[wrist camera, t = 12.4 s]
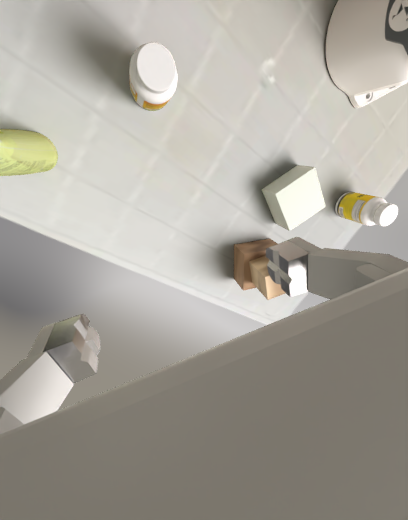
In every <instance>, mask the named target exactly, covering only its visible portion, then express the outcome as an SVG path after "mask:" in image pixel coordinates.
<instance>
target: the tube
mask: <svg viewBox="0 0 408 520" xmlns="http://www.w3.org/2000/svg"><path fill="white" fill-rule="evenodd" d="M57 159H58V154H57V151H56V148H55V146H54V145H53V143H52V142H51V141H50V140H49V139H48V138H47V137H45V136H44V135H42V134H40V133H37V132H32V131H25V130H13V129H0V176H11V175H24V174H32V173H39V172H45V171H48V170H50V169H52V168H53V167H54V166H55V165H56V163H57Z"/></svg>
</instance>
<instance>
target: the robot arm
mask: <svg viewBox="0 0 408 520" xmlns="http://www.w3.org/2000/svg"><path fill="white" fill-rule="evenodd" d="M326 61H327V66H328V70H329V73H330V76H331V78H332V80H333V81H334V83H335V84H336V86H337V87H338V88H339V89H341V90H342V91H343V92H345V93H346V94H347V95H348V96H349V99H350V101H351V103H352V105H353V106H354V107H355V108H360V107H363V106H365V105H367V104H369V103H371V102H372V101H374V100H376V99H378V98H380V97H382V96H384V95H385V94H387V93H389V92H391V91H393V90H395V89H396V88H398V87H400V86H402V85H404V84H406V83H408V0H338V2H337V4H336V6H335V8H334V11H333V13H332V16H331V19H330V23H329V27H328V31H327V38H326ZM266 257H267V258H268V259H269V262H268V264H267V269H268V273H269V275H270V278H271V279H272V280H273V281H274V282H275V283H276V284H280V285H281V289H282V290H283V291H284V292H285V293H286V294H287V295H288V296H290V297H292V296H295V295H297V294H300V293H303V292H306V291H308V292H311V293H314V294H317V295H319V296H322V297H325V298H328V299H330V300H328V301H325V302H323V303H321V304H318V305H316V306H313V307H311V308H308V309H306V310H304V311H301V312H298V313H296V314H294V315H291V316H289V317H286V318H284V319H281V320H279V321H276V322H274V323H271V324H269V325H267V326H264V327H262V328H259V329H257V330H255V331H252V332H249V333H247V334H245V335H242V336H240V337H237V338H235V339H232V340H230V341H228V342H225V343H223V344H220V345H218V346H215V347H213V348H211V349H208V350H206V351H203V352H200V353H198V354H196V355H193V356H191V357H188V358H186V359H183V360H181V361H178V362H176V363H173V364H171V365H169V366H166V367H164V368H161V369H159V370H156V371H154V372H151V373H149V374H146V375H144V376H142V377H139V378H137V379H134V380H132V381H129V382H127V383H125V384H122V385H120V386H117V387H115V388H112V389H110V390H107V391H105V392H102V393H100V394H98V395H95V396H93V397H90V398H88V399H85V400H83V401H81V402H78V403H75V404H73V405H70V406H68V407H66V408H63V409H61V410H58V408H59V407H60V405H61V404H62V402H63V400H64V399H65V397H66V396H67V394H68V393H69V391H70V390H71V388H72V386H73V385H74V384H73V383H76V382H78V381H80V380H83V379H85V378H87V377H90V376H92V375H94V374H96V373H97V366H98V360H99V359H98V358H97V356H96V355H97V354H98V352H99V351H100V345H101V344H100V338H99V335H98V333H97V331H96V330H95V329H94V328H92V327H90V326H89V322H90V320H89V319H88V318H87V316H86V315H85V314H80V315H77V316H74V317H71V318H68V319H65V320H62V321H59V322H55V323H53V324H50V325H47V326H45V327H43V328H41V330H40V332H39V334H38V336H37V338H36V340H35V342H34V344H33V346H32V348H31V350H30V352H29V354H28V356H27V358H26V359H24V360H22V361H20V362H19V363H18V364H17V365H16V366H15V367H14V368H13V369H12V370H11V371H9V372H8V373H7V374H6V375H5V376H4V377H3V378H2V379H1V380H0V520H408V262H406V261H403V260H401V259H399V258H396V257H394V256H392V255H389V254H380V253H370V252H360V251H349V250H339V249H329V248H324V249H320V248H319V247H317V246H315V245H313V244H311V243H309V242H307V241H305V240H303V239H301V238H300V237H294V238H292V239H289V240H287V241H284V242H282V243H279V244H277V245H274V246H271V247H269V248H266ZM57 410H58V411H57Z"/></svg>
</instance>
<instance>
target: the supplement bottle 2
mask: <svg viewBox="0 0 408 520" xmlns="http://www.w3.org/2000/svg"><path fill="white" fill-rule="evenodd" d="M335 211H336V214H337V215H338V216H340V217H342V218H345V219H349V220H352V221H355V222H358V223H361V224H365V225H368V226H371V225H375V224H378V225H381V226H387V225H389V224H391V223H392V222H393V221H394V220H395V218H396V216H397V214H398V208H397V206H396V205H394V204H390V203H387V202H386V201H385V200H384V199H383V198H380V197H375V196H370V195H365V194H360V193H354V192H347V193H345V194H343V195H342V196H341V197H340V198H339V199H338V201H337V203H336V207H335Z"/></svg>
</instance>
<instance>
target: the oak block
mask: <svg viewBox="0 0 408 520" xmlns="http://www.w3.org/2000/svg"><path fill="white" fill-rule="evenodd" d="M268 262H269V259H268V258H267V257H266V255H265V256H263V257H260V258H257V259H254V260H252V261H249V265H250V271H251V278H252V283H253V284H254V285H255V286H256V287H257V289H258V290H259V291H260V292H261V293H262V294H263V295H264V296H265V297H266V299H267V300H269V299H272V298H274V297H277V296H280V295H282V294H285V292H284V291H283V290H282V289H281V285H280V284H276V283H275V282H274V281H273V280H272V279H271V278H270V275H269V273H268V269H267V264H268Z"/></svg>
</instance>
